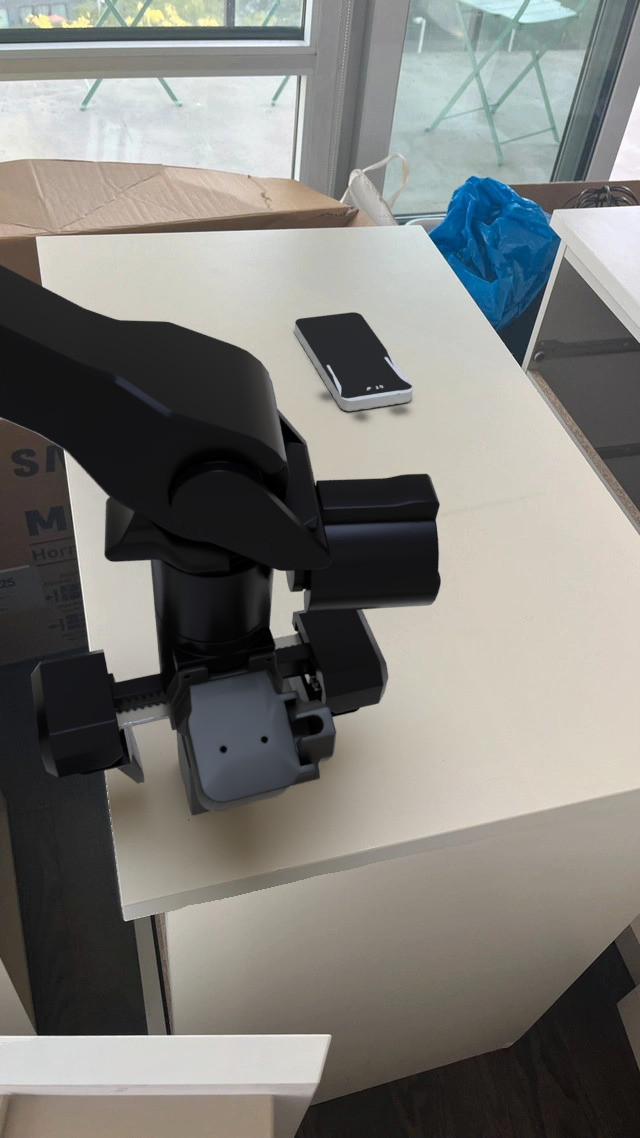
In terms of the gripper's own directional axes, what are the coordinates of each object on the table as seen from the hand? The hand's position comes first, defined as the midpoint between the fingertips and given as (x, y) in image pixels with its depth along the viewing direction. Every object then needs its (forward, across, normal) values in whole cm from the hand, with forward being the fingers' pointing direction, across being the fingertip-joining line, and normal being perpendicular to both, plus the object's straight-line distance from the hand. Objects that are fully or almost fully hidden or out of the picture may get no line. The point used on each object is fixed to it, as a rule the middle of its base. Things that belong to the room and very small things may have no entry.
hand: (214, 758), depth 53 cm
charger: (+3, 0, 0) cm, 3 cm away
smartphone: (+3, +24, +42) cm, 49 cm away
